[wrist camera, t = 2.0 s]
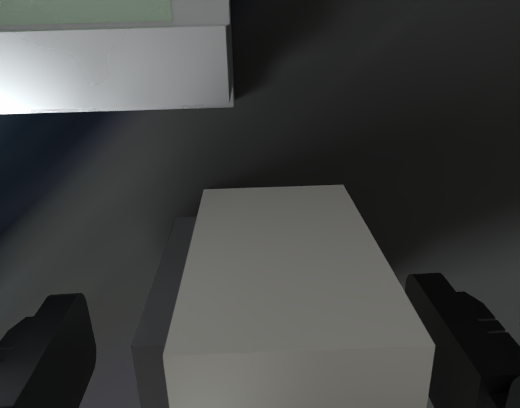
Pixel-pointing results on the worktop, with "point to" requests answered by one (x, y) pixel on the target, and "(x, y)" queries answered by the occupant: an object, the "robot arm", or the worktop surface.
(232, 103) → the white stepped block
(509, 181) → the worktop surface
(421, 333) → the block
